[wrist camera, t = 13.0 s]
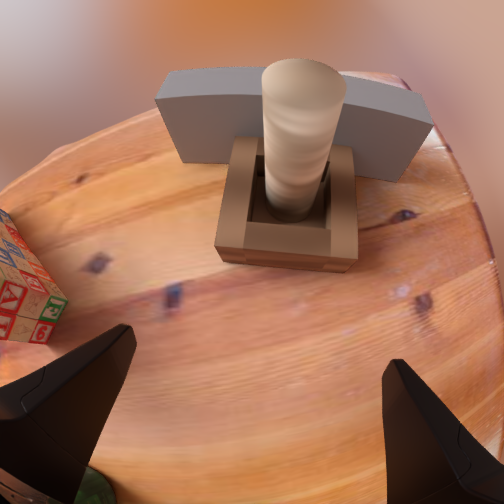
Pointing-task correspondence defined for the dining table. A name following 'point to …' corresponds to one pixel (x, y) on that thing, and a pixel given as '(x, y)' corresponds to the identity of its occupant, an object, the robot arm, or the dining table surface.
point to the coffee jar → (92, 490)
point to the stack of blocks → (25, 290)
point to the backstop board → (251, 123)
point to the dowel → (298, 132)
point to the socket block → (288, 234)
